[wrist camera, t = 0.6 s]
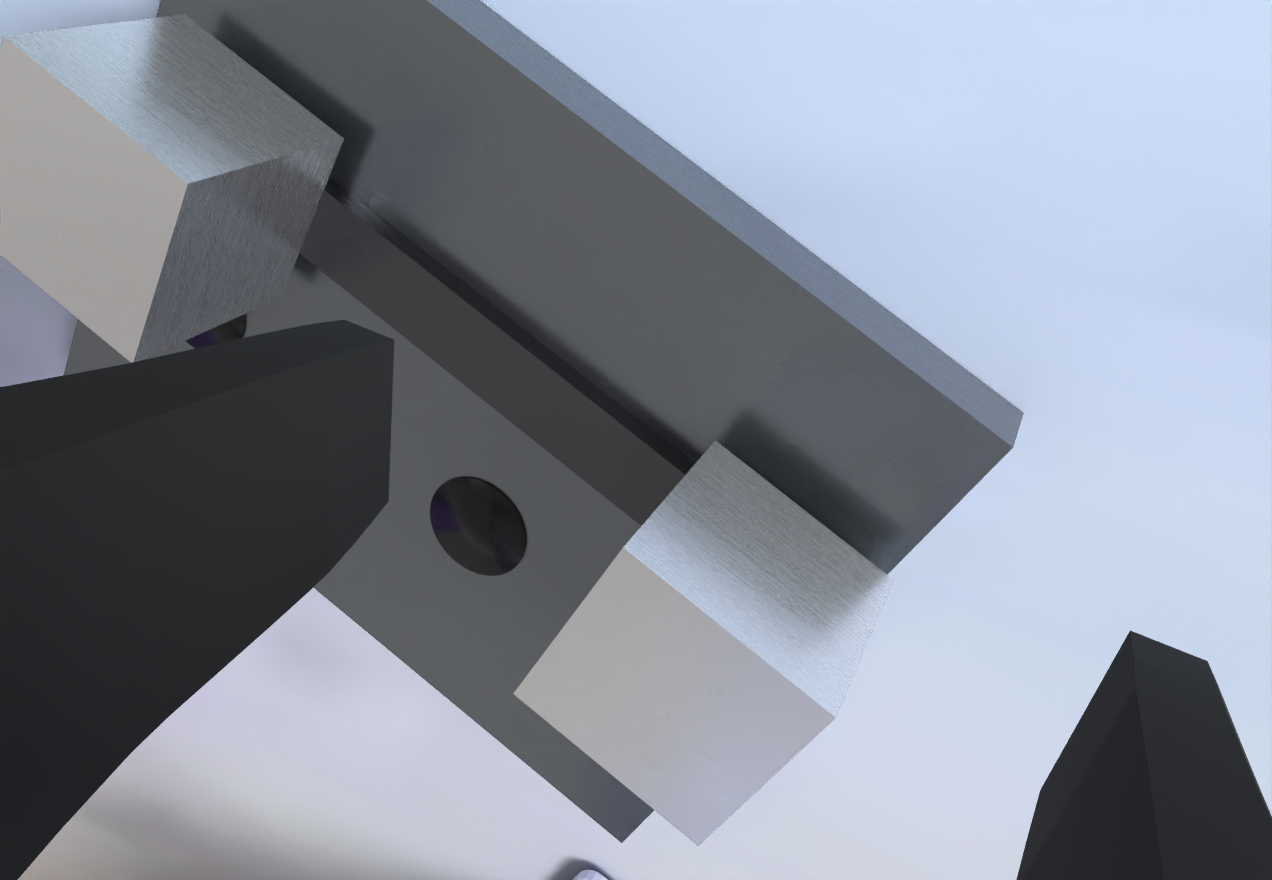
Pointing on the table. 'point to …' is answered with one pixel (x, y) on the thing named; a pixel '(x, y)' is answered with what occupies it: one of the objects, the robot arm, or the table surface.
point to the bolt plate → (472, 308)
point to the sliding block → (710, 645)
